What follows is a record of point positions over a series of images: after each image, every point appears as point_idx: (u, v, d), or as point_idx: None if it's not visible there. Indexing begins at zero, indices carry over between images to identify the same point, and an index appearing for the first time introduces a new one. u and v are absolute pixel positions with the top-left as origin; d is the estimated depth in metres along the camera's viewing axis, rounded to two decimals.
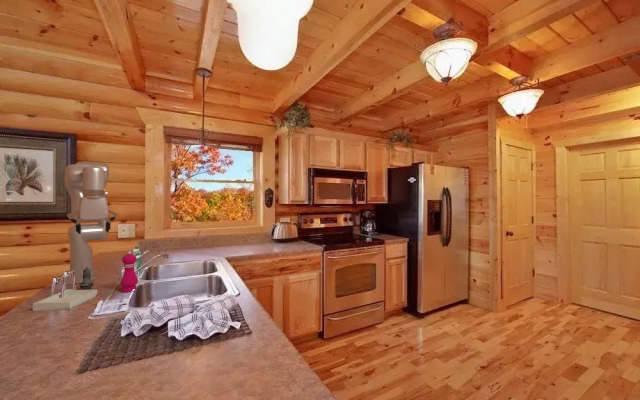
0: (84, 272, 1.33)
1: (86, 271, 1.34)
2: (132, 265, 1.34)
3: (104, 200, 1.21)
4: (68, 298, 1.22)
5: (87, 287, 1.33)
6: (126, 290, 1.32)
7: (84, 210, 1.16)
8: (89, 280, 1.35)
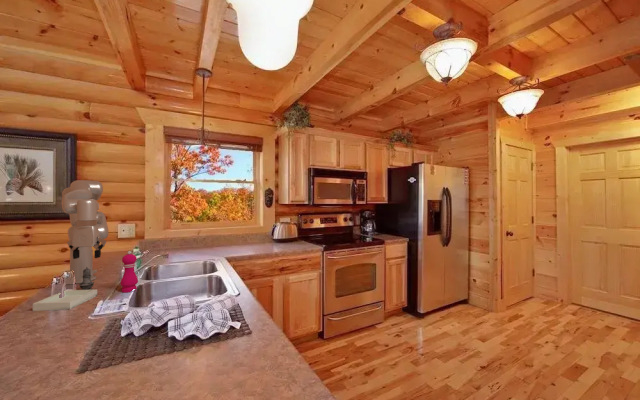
0: (84, 272, 1.33)
1: (86, 271, 1.34)
2: (132, 265, 1.34)
3: None
4: (68, 298, 1.22)
5: (87, 287, 1.33)
6: (126, 290, 1.32)
7: None
8: (89, 280, 1.35)
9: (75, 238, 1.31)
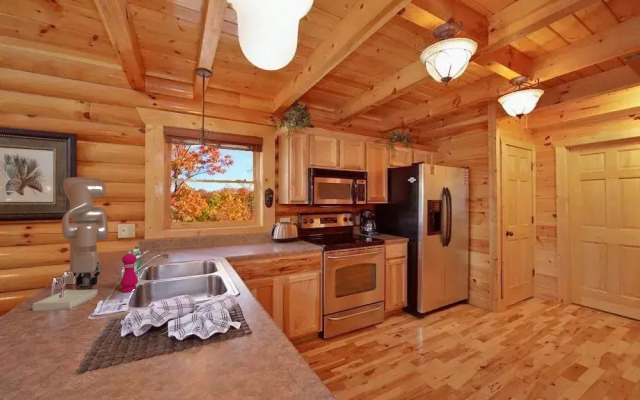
0: None
1: None
2: (132, 265, 1.34)
3: None
4: (68, 298, 1.22)
5: (87, 287, 1.33)
6: (126, 290, 1.32)
7: None
8: (89, 280, 1.35)
9: (75, 264, 1.32)
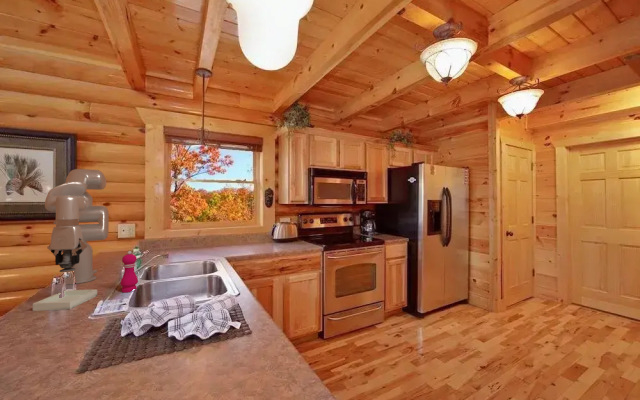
0: None
1: None
2: (132, 265, 1.34)
3: None
4: (68, 298, 1.22)
5: (68, 266, 1.18)
6: (126, 290, 1.32)
7: None
8: (70, 258, 1.19)
9: (53, 239, 1.16)
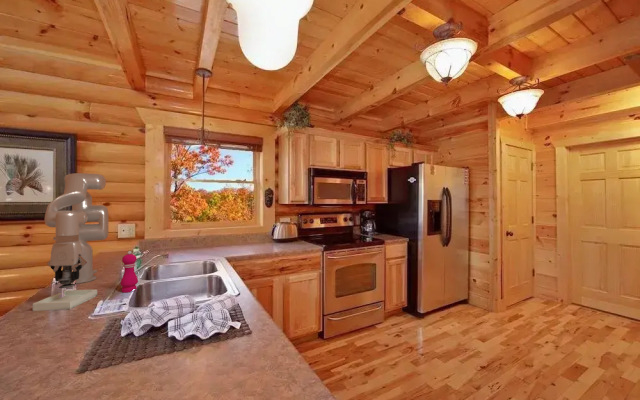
0: None
1: None
2: (132, 265, 1.34)
3: None
4: (68, 298, 1.22)
5: (67, 282, 1.17)
6: (126, 290, 1.32)
7: None
8: (70, 274, 1.19)
9: (53, 256, 1.16)
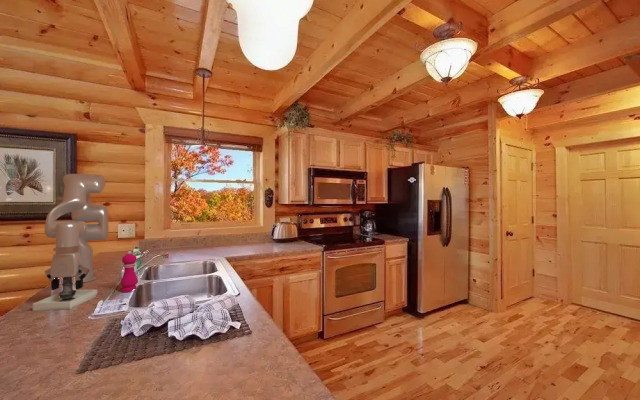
0: (64, 280, 1.18)
1: (66, 278, 1.18)
2: (132, 265, 1.34)
3: None
4: None
5: (68, 296, 1.18)
6: (126, 290, 1.32)
7: None
8: (70, 288, 1.19)
9: (53, 267, 1.16)
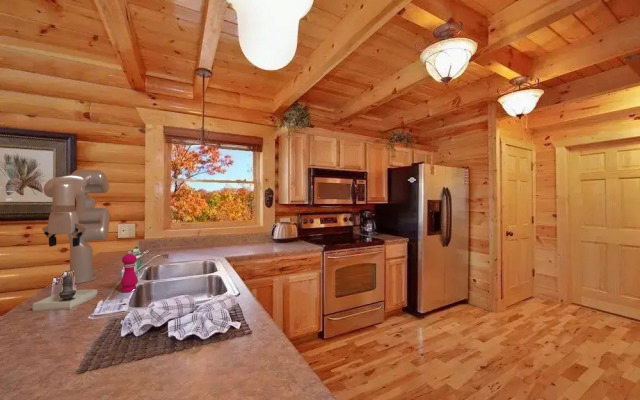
0: (64, 280, 1.18)
1: (66, 278, 1.18)
2: (132, 265, 1.34)
3: None
4: None
5: (68, 296, 1.18)
6: (126, 290, 1.32)
7: None
8: (70, 288, 1.19)
9: (50, 224, 1.21)
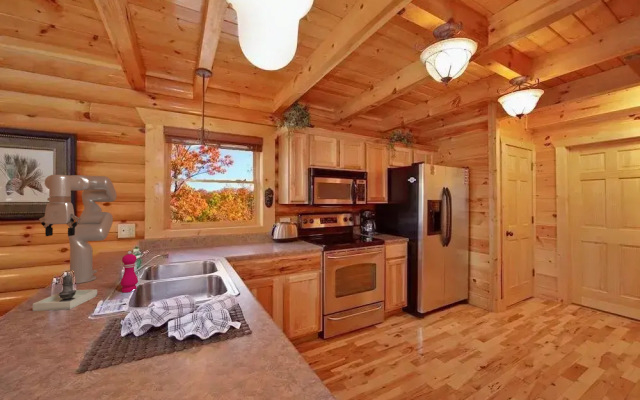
0: (64, 280, 1.18)
1: (66, 278, 1.18)
2: (132, 265, 1.34)
3: None
4: None
5: (68, 296, 1.18)
6: (126, 290, 1.32)
7: None
8: (70, 288, 1.19)
9: (47, 214, 1.26)
